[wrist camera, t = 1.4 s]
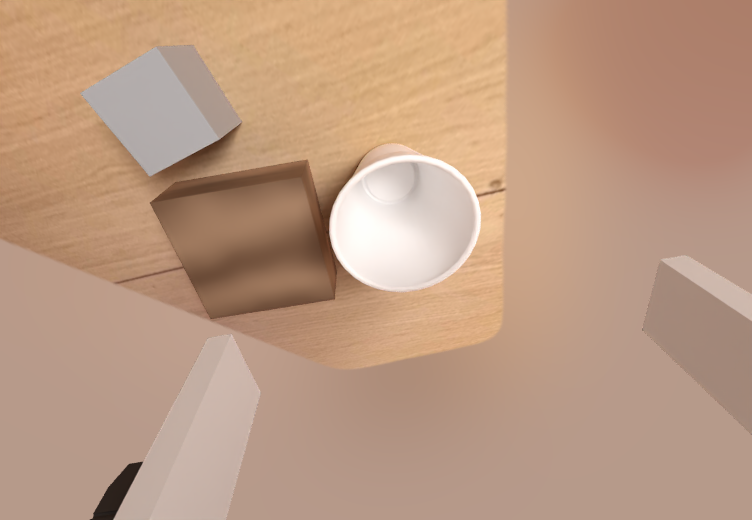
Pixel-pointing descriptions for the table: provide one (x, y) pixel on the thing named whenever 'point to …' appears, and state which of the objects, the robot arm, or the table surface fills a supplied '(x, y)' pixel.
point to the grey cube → (163, 106)
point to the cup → (404, 220)
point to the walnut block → (250, 238)
